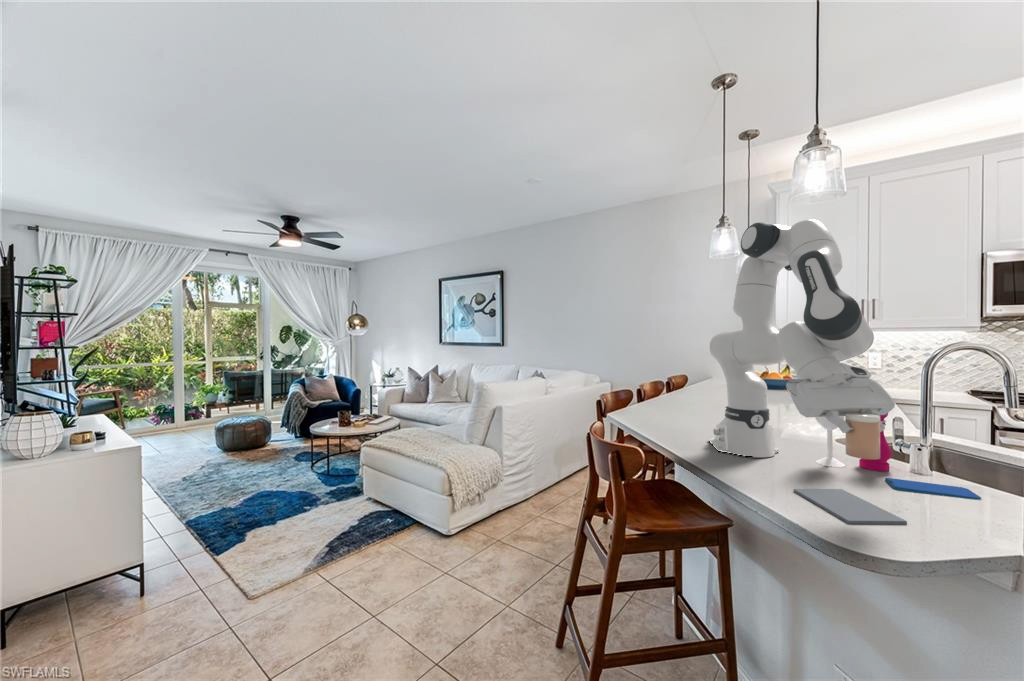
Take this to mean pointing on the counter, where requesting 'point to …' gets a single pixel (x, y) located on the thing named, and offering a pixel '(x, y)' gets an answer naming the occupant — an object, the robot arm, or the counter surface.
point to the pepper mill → (884, 454)
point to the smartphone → (931, 488)
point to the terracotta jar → (863, 436)
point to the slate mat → (849, 507)
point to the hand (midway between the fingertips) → (864, 431)
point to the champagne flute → (829, 443)
